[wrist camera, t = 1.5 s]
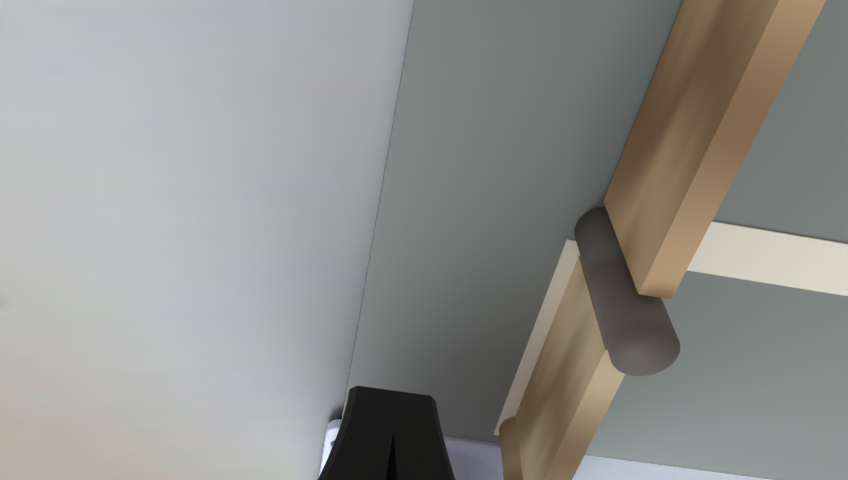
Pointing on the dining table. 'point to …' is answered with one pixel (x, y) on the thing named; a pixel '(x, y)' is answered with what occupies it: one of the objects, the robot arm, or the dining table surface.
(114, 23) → the dining table surface
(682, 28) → the fence gate
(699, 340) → the board
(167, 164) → the dining table surface
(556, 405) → the fence base
